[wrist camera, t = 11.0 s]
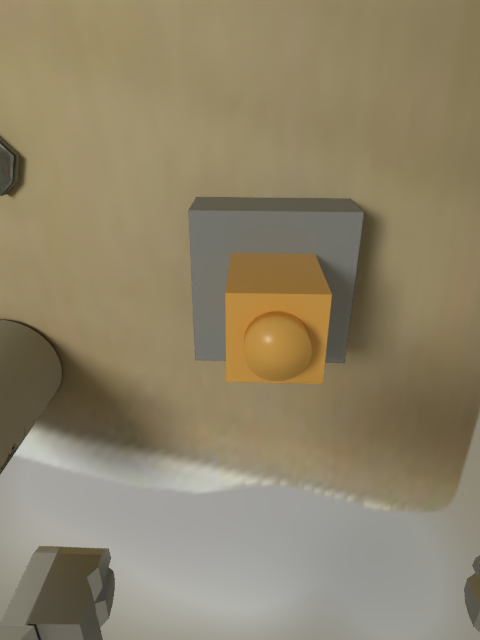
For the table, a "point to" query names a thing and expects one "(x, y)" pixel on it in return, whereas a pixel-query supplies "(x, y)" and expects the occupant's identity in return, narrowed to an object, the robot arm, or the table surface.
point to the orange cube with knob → (276, 318)
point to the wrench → (8, 167)
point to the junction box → (271, 238)
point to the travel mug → (23, 383)
